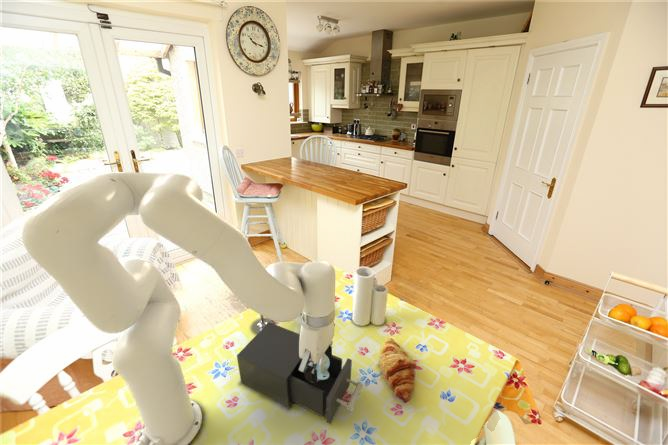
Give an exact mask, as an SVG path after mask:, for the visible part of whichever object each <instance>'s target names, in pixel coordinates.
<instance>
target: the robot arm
mask: <svg viewBox="0 0 668 445" xmlns="http://www.w3.org/2000/svg"><path fill="white" fill-rule="evenodd" d="M203 199H204V196H203V189H202V188H201V186H200V185H199V184H198V182H197V181H195V179H193V178H191V177H190V176H187V175H184V174H182V173H181V174H180V173H174V172H131V171H110V172H109V171H107V172H102V173H97V174H94V175H92V176H89V177H87V178H85V179H84V180H81V181H80V182H78V183H76V184H73V185H71V186H69V187H67V188H65V189H63V190H61V191H60V192H57V194H55V195H53V196H51V197H50V198H48V199H47V200H45V201H44V202H43V203H42V204H40V205H39V206H38V207H36V209H35V210H33V212H32V213H31V214H30V215H29V216H28V217H27V219H26V220H25V222H24V224H23V227H22V232H21V239H22V243H23V246H24V248H25V250H26V251H27V253H28V255H29V256H30V257H31V259H33V260H34V261H35V263H37V264H38V265H39V266H40V267H41V268H42V269H44V270H45V272H47V273H48V274H49V275H50V276H51V277H52V278H53V279H54V280H55V282H57V284H58V285H59V286H60V287H61V289H62V290H63V292H64V293H65V294H66V295H67V296H68V297H69V299H70V300H71V301H72V303H73V304H75V306H76V307H77V308H78V309H79V311H80V312H81V313H82V314H83V316H84V317H85V318H86V319H87V320H88V322H90V323H91V325H92V326H93V327H95V328H96V329H97V330H99V331H100V332H103V333H106V334H119V333H121V334H120V336H119V337H118V339H117V341H116V343H115V346H114V349H113V353H112V358H111V361H112V362H111V363H112V366H113V368H114V370H115V372H116V373H117V374H118V375H119V376H120V377H121V378H122V379H123V381H124V382H125V384H126V386H127V388H128V390H129V392H130V394H131V397H132V399H133V401H134V403H135V406H136V408H137V411H138V413H139V416H140V418H141V421H142V423H143V425H144V427H142V429H141V430H140V434H141V436H140V437H139V438H138V441H137V442H136V443H135V445H189V444H191V442H192V441H193V440H194V438H195V437H196V435H197V434H198V432H199V430H200V428H201V427H202V422H203V415H202V414H203V413H202V410H201V407H200V405H199V404H198V403H197V402H196V401H194V400H191V397H190V394H189V390H188V386H187V383H186V379H185V376H184V372H183V369H182V367H181V363H180V361H179V360H178V358H177V357H176V356H174V352H173V347H174V342H175V338H176V335H177V331H178V327H179V324H180V321H181V317H182V309H181V305H180V303H179V301H178V299H177V297H176V296H175V294H174V293H173V291H172V289H171V287H170V286H169V284H168V282H167V281H166V279H165V277H164V276H163V275H162V273H161V271H160V270H159V268H158V267H157V266H155V264H153V263H152V262H150V261H148V260H147V259H144V258H141V257H137V256H128V257H127V256H126V257H122V258H120V259H119V258H118V256H117V255H116V253H114V251H113V250H112V249H110V248H109V247H108V246H106V245H105V244H103V243H102V242H100V241H101V240H102V239H103V238H104V237H105V236H107V235H108V234H109V233H110V232H112V231H113V230H114V229H115V228H116V227H117V226H118V225H119V224H121V223H122V222H123V221H124V220H125V219H126V218H127V217H128V216H139V218H140V220H141V221H142V223H143V224H144V225H145V226H146V227H147V229H150V230H151V231H153V232H154V233H156V234H157V235H159V236H160V237H162V238H164V239H165V240H167V241H169V242H170V243H172V244H174V245H175V246H176V247H179V248H180V249H182V250H183V251H185V252H187V253H188V254H190V255H191V256H193V257H194V258H196V259H198V260H200V261H201V262H203V263H204V264H206V265H207V266H208V267H211V269H212V270H214V272H215V273H216V274H217V276H218V277H219V279H220V280H221V282H222V283H223V284H224V285H225V286H226V287H227V288H228V289H229V291H230V292H231V293H232V294H233V295H234V296H235V298H237V299H238V301H240V302H241V303H242V304H243V305H245V306H246V307H247V308H249V309H250V310H252V311H253V312H254V313H257V314H258V315H259V316H260V315H262V316H263V318H265V319H269V320H271V321H272V322H276V323H290V322H293V321H295V320H296V319H298V318H299V317H300V316H301V320H302V322H301V325H300V330H299V334H300V337H299V357H300V358H301V359H302V362H301V365H300V367H299V371H301V372H303V373H305V379H307V380H308V381H310V382H313V383H317V370H316V366H317V363H318V362H319V361H320V359H321V358H322V356H323V354H324V353H325V354H326V356H327V357H328V358H329V359H331V357H332V355H333V346H332V345H333V342H334V341H333V339H334V336H335V326H336V323H335V320H336V319H335V316H336V315H335V314H336V313H335V312H336V307H335V306H336V270H335V268H334V266H333V265H332V264H331V263H329V262H328V261H326V260H312V261H309V262H297V261H296V262H295V261H276V262H273V263H271V264H269V265H268V266H267V267H266V268H265V267H264V265H263V264H262V263H261V262H260V260H259V259H258V257H257V255H256V254H255V252H254V250H253V248H252V245H251V244H250V242H249V240H248V237H247V236H246V234H244V233H245V232H243V231H242V230H241V229H240V228H239V227H238V226H236V225H235V224H233V223H232V222H231V221H229V220H228V219H227V218H225V217H224V216H222V215H220V213H218V212H216V211H215V210H214V209H212V208H211V207H209V206H208V205H207V204H206V203H204V202H203ZM301 313H302V315H300V314H301ZM309 361H311V362H313V366H310V365H308V363H309Z"/></svg>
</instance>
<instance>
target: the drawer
mask: <svg viewBox="0 0 668 445" xmlns="http://www.w3.org/2000/svg"><path fill="white" fill-rule="evenodd" d="M329 361H330V365H329V368H328V370H327V371H328V372H329V378H328V379H325V380H319V381H318V382H317V383H312V382H310V381H308V380H307V379H305V373H303V372H301V371H299V367H300V365H301V362H302V360H301V362H300V363H299V364H298V366H297V367H296V369H295V370H294V372H293V373H292V374H291V376H290V377H289V379H288V381H289V395H290V400H291V401H293V402H292V403H296V404H298V405H299V406H301V407H302V408H305V409H307V410H309V411H311V412H313V413H315V414H317V415H319V416H321V417H324V415H326V416H325V417H326V418H325V422H326V424H329V425H332V423H333V421H334V419H335V417H336V415H337V412H338V410H339V408H340V406H341V405H342V406H345V407H346V408H347V410H349V411H353V410H354V408H355V405H356V402H357V401H358V398H359V396H360V393H361V391H362V389H363V386H364V384H363V382H361V381H355V380H353V379H352V364H353V359H352V358H349V357H348V358H346V360H345V362H344V364H343V358H341V357H339V356H336V355H334V354H332V357H331V359H329ZM310 362H311V361H309V363H310ZM309 363H308V364H309ZM324 377H326V376H324ZM350 385H354V386H355V387H354V389H353V392H352V394H351V396H350V398H349V400H348V402H347V401H344V400H343V399H344V398H345V395H346V394H347V392H348V389H349V387H350ZM325 413H326V414H325Z"/></svg>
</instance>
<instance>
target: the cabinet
mask: <svg viewBox="0 0 668 445" xmlns="http://www.w3.org/2000/svg"><path fill="white" fill-rule="evenodd" d="M299 337H300V333H298V332H295V331H293V330H290V329H287V328H285V327H283V326H280V325H278V324H275V323H274V322H273V323H270V322H268V323H267V325H266V326H265V327H264V328H263V329H262V330H261V331H260V332H259V333H258V334H257V333H256V335H254V337H253V338H252V339H251V340H250V341H249V342H248V343H247V344H246V345H245V346H244V347H243V348H242V349H241V350H240V351H239V352H238V353H237V355H236V359H237V366H238V371H239V379H240V383H241V384H242V385H244V386H246V387H247V388H250V389H251V390H253V391H255V392H258V393H259V394H261V395H263V396H264V397H267V398H269V399H270V400H272V401H275V402H276V403H278V404H280V405H282V406H284V407H286V408H288V409H289V408H290V407H291V405H292V403H294V402H293V401H291V400H290V395H289V381H288V379H289V377H290V376H291V374H292V373H293V372H294V370H295V369H296V367H297V366H298V364H299V363H300V362H301V360H302V359H301V358H300V357H299Z"/></svg>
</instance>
